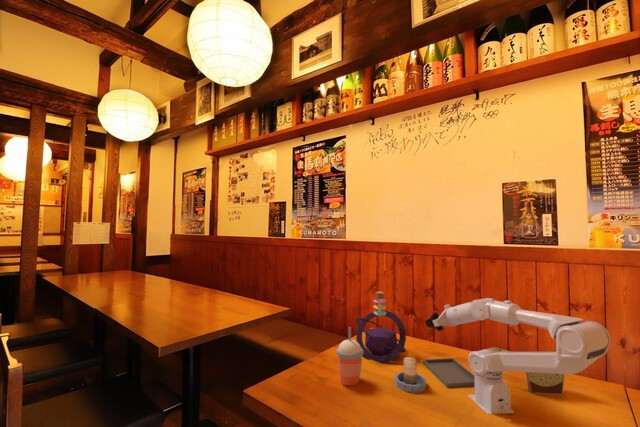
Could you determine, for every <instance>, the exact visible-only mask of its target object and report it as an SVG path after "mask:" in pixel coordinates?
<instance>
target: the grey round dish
mask: <svg viewBox="0 0 640 427" xmlns="http://www.w3.org/2000/svg"><path fill="white" fill-rule="evenodd" d="M394 385H395V386H396V388H397V389H399V390H401V391H403V392H407V393H411V394H416V393H417V394H419V393H422V392H424V391H426V388H427V378H426V377H425V376H423V375H422V374H420V373H418V372H417V385H410V384H405V383H404V371H399V372H398V373H396V374H395V376H394Z"/></svg>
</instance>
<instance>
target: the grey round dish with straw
mask: <svg viewBox="0 0 640 427" xmlns="http://www.w3.org/2000/svg"><path fill="white" fill-rule="evenodd" d="M335 350H336V351H335V352H336V355H337V356H338V358H337V359H338V360H337V361H338V370H339V377H340V383H341V384H342V385H344V386H346V387H350V386H354V385H357V384H359V382H360V380H361V379H360V377H361V371H362V370H361V368H362V363H363V362H362V357H364V356H363V353H364V352H363V349H362V348H361V346H360V345H359V343H358V342H357V340H354V339H352V327H351V326H349V327H348V339H344V340H343V341H341V343H339V346H338V347H337V348H336V349H335Z"/></svg>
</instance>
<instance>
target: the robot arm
mask: <svg viewBox="0 0 640 427" xmlns="http://www.w3.org/2000/svg"><path fill="white" fill-rule="evenodd" d="M443 307H444V310H443V311H442V312H441V314H438V312H434V313H432V314H431V315H430V317H429V318H428V319H426V320H425V322H424V323H425V325H426V327H427V328H430V329H431V328H432V329H434V330H436V331H438V332H440V331H443V330H444V327H456V326H459V325H463V324H464V325H465V324H467V323H468V324H469V323H473V322H478V321H484V320H487V319H488V320H491V321H493V322H498V323H502V324H505V325H506V324H507V325H510V326H518V325H520V323H522V324H525V325H528V326H529V325H530V326H533V327H537V328H539V329H544V330H547V331H548V332H549V335H550V337H551V339H552V340H555V350H556V351H509V350H507V349H502V348H500V347H499V346H498V347H497V346H492V347H489V348H485V349H481V350H477V351H475V350H474V351H470V352H469V354H468V357H467V358H468V360H467V362H468V364H469V366H470V368H471V370H472V372H473V375H474V377H475V387H474V394H468V397H469V398H470V400H472V401H473V402H474V403H475V404H476V405H477V406H479V407H480V408H481V410H483V412H485V413H486V414H488V415H495V414H504V415H506V414H507V415H508V414H514V412H515V411H514V410H513V409H512V408H511V406H512V405H511V404H512V403H511V402H512V401H511V400H512V399H511V398H512V397H511V389H510V387H509V385H508V384H507V383H506V382H505V381H504V379H503V375H504V371H507V372H508V371H510V372H523V373H526V372H537V373H554V374H564V375H571V376H572V375H575V374H578V373H581V372H583V371H584V370H586V368H588V367H589V366H591V365H592V364H593V363H595V361H597V360H599V359H600V358H602V357H603V356H604V355H606V354H607V353H608V350H609V347H610V344H611V342H612V341H611V335H610V332H609V331H608V330H607V328H606V327H605V326H603V325H601V324H600V323H599V322H595V321H591V320H585V321H584V319H583V318H579V317H576V316H575V317H574V316H567V315H562V314H555V313H549V312H548V313H547V312H540V311H533V310H526V309H522V308H521V307H520V305H518V304H516V303H513V302H512V301H511V300H503V301H498V300H496V299H495V298H493V297H492V298H491V297H490V298H489V297H486V298H479V299H474V300H472V301H469V302H465V303H462V304H457V305H456V304H454V305H453V304H452V305H450V304H449V303H447V304H445V305H444V306H443ZM581 321H582V322H581ZM443 326H444V327H443Z"/></svg>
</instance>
